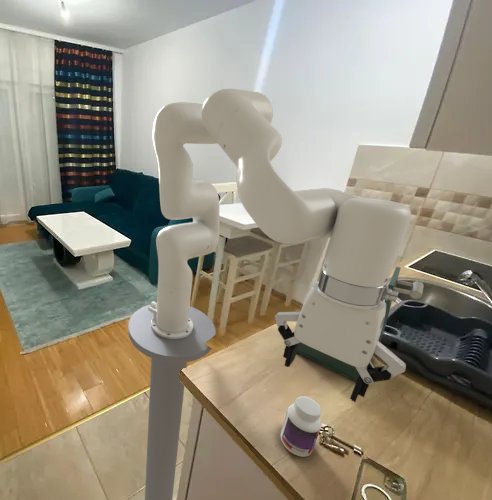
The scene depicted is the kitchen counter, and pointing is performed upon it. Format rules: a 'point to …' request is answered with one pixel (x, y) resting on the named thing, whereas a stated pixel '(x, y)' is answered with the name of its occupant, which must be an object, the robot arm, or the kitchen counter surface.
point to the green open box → (328, 361)
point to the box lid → (414, 293)
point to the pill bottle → (301, 426)
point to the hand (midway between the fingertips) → (319, 378)
